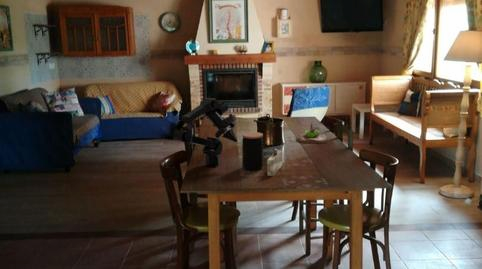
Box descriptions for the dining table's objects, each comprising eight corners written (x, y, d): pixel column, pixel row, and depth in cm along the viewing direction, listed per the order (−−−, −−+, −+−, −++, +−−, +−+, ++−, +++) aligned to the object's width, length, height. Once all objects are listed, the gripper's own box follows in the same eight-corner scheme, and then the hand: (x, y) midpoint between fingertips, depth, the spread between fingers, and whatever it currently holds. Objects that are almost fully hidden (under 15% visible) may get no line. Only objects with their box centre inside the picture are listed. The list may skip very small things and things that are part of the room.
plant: (326, 137, 312) (326, 120, 310) (328, 144, 293) (329, 126, 291) (296, 136, 314) (296, 120, 312) (296, 143, 295) (296, 126, 293)
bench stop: (267, 175, 231) (267, 153, 228) (276, 164, 249) (277, 144, 247) (273, 176, 230) (273, 154, 227) (282, 164, 248) (282, 144, 246)
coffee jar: (248, 164, 250) (248, 131, 246) (266, 166, 245) (266, 133, 241) (238, 169, 241) (238, 135, 237) (256, 172, 236) (256, 137, 232)
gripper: (220, 112, 232) (241, 135, 231) (232, 106, 249) (252, 127, 248) (206, 127, 236) (226, 149, 235) (218, 120, 253) (238, 141, 252)
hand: (236, 141), depth 243 cm, fingers closed
